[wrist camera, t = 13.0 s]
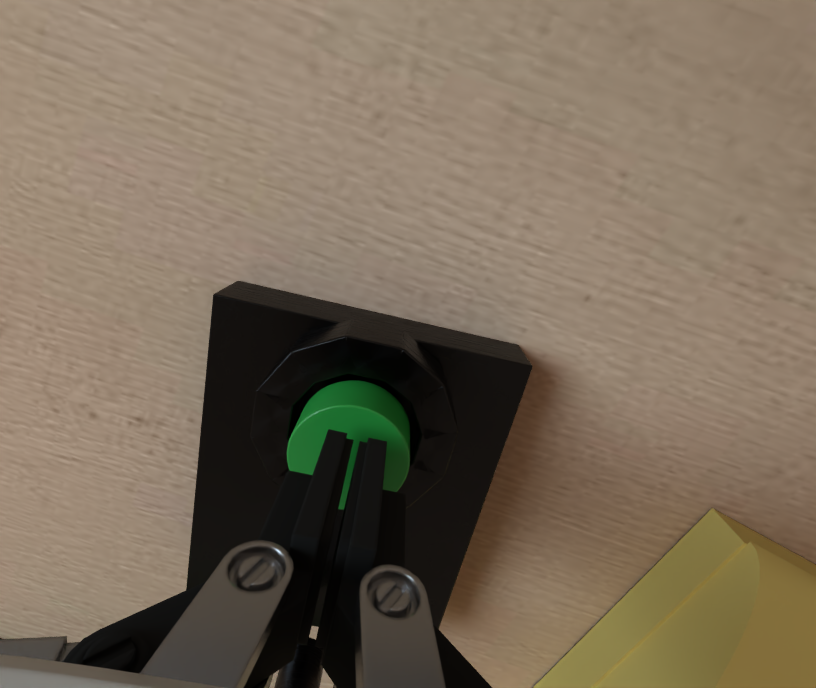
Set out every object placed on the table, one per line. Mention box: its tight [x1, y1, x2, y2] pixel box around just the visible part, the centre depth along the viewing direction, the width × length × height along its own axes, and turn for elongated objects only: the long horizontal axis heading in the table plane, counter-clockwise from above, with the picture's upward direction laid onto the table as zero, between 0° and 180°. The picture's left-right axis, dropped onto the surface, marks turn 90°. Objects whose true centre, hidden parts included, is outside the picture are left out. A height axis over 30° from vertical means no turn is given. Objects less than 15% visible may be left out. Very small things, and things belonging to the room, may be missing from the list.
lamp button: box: [287, 380, 410, 510], centre depth 14 cm, size 4×4×2 cm
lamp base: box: [186, 281, 532, 629], centre depth 17 cm, size 14×11×4 cm
